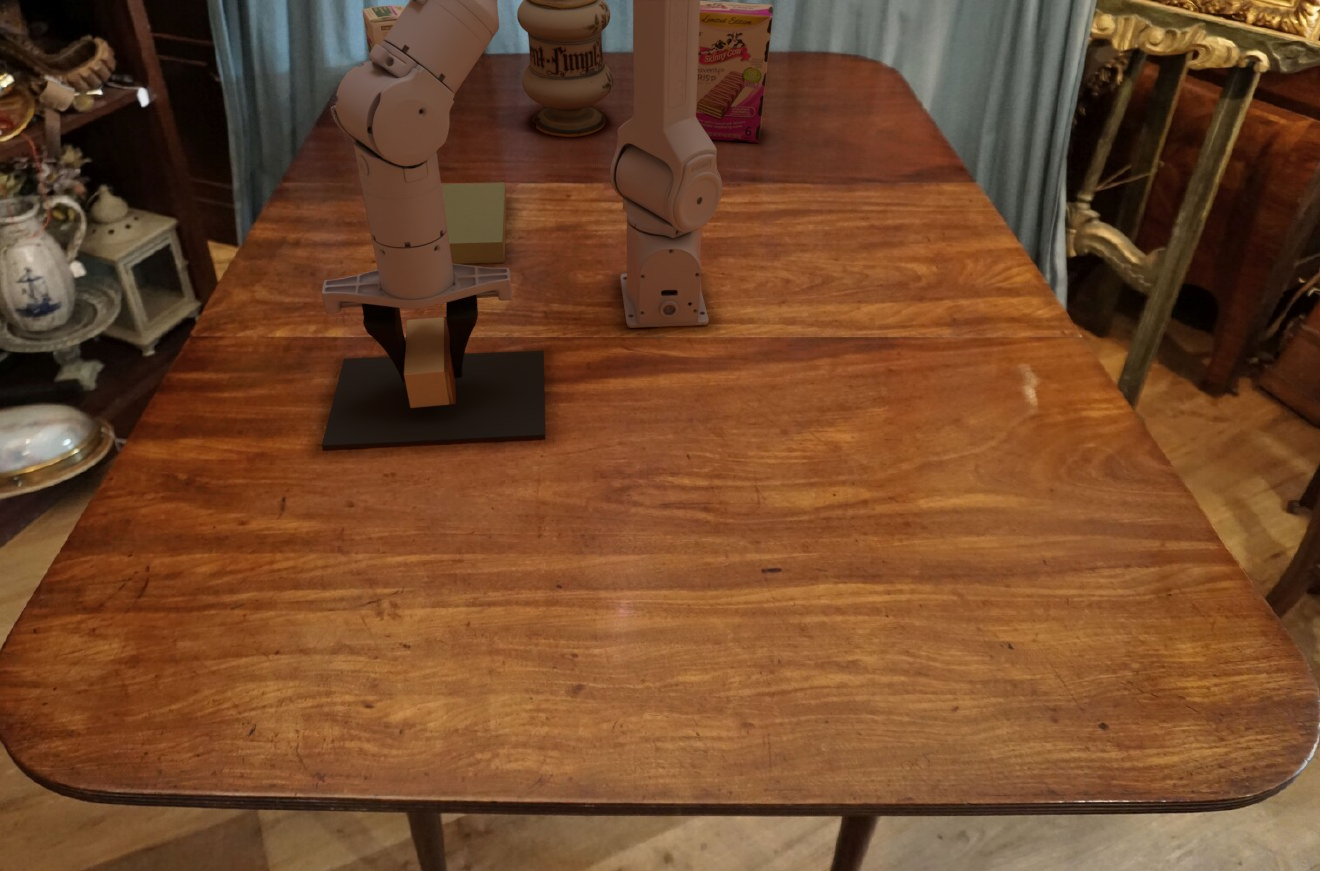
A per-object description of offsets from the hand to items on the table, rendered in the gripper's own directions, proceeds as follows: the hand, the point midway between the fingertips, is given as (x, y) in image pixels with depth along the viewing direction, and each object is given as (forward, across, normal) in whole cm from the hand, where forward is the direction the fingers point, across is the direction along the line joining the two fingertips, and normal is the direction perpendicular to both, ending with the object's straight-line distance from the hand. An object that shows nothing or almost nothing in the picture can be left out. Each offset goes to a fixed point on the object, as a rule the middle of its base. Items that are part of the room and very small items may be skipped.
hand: (433, 373), depth 80 cm
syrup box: (+3, +4, -60) cm, 60 cm away
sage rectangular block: (+2, -2, -29) cm, 30 cm away
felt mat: (+2, 0, 0) cm, 3 cm away
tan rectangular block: (0, 0, 0) cm, 1 cm away
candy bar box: (+3, -37, -52) cm, 64 cm away
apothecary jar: (+3, -18, -58) cm, 61 cm away
